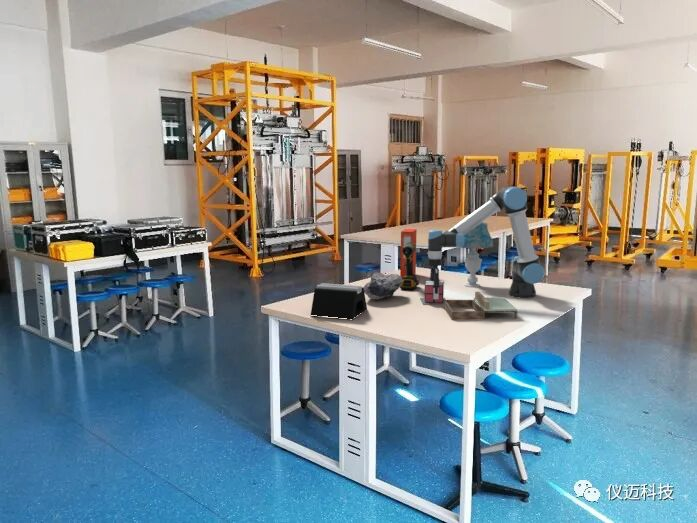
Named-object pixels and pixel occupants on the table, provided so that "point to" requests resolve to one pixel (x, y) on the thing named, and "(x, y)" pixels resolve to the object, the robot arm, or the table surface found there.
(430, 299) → the puzzle cube
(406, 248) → the impact wrench
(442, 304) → the mat
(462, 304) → the wooden frame
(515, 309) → the lid
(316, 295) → the device stand
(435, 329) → the table surface
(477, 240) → the table lamp
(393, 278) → the mineral sample
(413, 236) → the file binder
